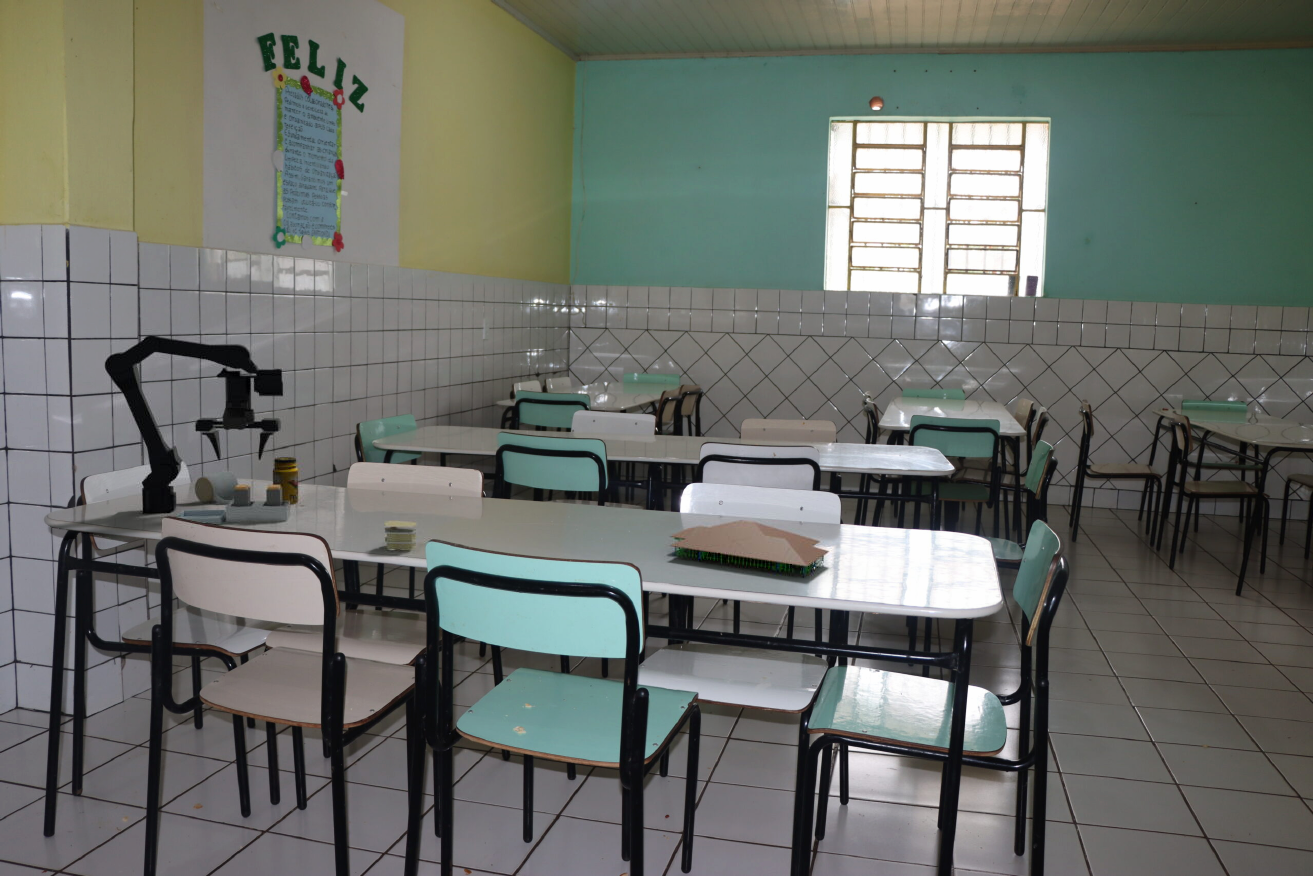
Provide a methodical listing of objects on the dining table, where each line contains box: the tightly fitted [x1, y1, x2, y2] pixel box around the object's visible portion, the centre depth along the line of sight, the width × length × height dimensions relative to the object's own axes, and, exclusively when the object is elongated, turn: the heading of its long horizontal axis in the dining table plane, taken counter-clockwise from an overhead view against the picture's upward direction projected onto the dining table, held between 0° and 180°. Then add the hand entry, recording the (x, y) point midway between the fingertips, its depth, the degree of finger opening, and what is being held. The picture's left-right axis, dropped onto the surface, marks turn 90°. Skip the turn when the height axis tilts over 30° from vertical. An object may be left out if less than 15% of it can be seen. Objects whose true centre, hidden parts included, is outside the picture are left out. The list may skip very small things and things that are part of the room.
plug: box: [234, 484, 252, 506], centre depth 230 cm, size 3×4×7 cm
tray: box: [176, 509, 226, 525], centre depth 228 cm, size 10×10×2 cm
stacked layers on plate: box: [384, 520, 419, 550], centre depth 209 cm, size 10×9×6 cm
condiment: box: [272, 456, 305, 507], centre depth 250 cm, size 7×8×12 cm
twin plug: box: [265, 484, 282, 506], centre depth 232 cm, size 3×4×7 cm
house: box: [669, 519, 830, 574], centre depth 212 cm, size 23×33×8 cm
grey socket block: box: [225, 500, 291, 523], centre depth 231 cm, size 13×7×4 cm, turn 104°
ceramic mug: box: [194, 470, 239, 505], centre depth 250 cm, size 11×8×8 cm
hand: (239, 459), depth 241 cm, fingers open, 9 cm apart
